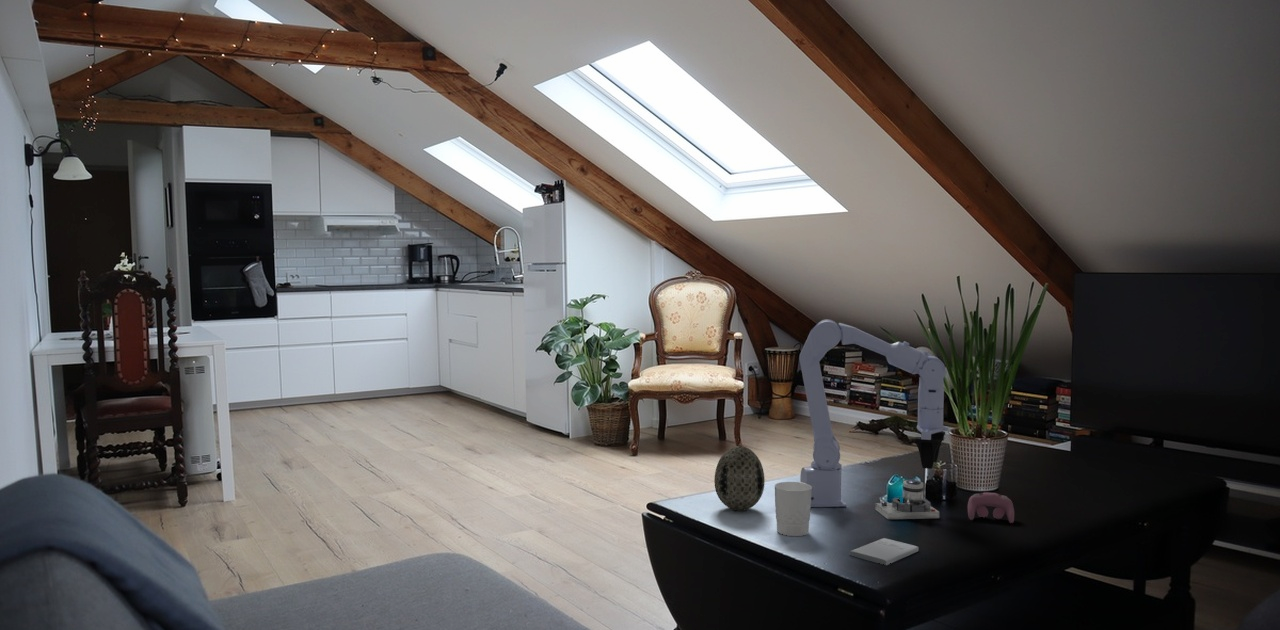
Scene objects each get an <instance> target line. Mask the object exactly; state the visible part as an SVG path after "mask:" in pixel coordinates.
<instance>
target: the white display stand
mask: <svg viewBox="0 0 1280 630" xmlns="http://www.w3.org/2000/svg"><path fill="white" fill-rule="evenodd" d="M899 499H900V498H896V497H894V498H891V502H887V501H881V502H880V503H879V502H878V503H877V502H876V503H875V508H874V509H875V511H877V512H878V513H879V514H880V515H882V517H884V518H886V519H887V520H916V519H917V520H921V519H923V520H924V519H940V511H939V510H937V509H936V508H934V507H933V506H932V504H931V501H929V500H928V499H927V498H924V497H923V504H916V505H911V504H905V503H900V500H899Z"/></svg>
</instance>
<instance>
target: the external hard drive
mask: <svg viewBox="0 0 1280 630" xmlns="http://www.w3.org/2000/svg"><path fill="white" fill-rule="evenodd" d="M917 552H919V546H916V545H913V544H910V543H905V542H902V541H897V540H893V539H890V538H886V537H883V538H880V539H878V540H875V541H873V542H870V543H867V544H864V545H862V546H860V547H857V548H855V549H852V550H850V551H849V556H850V555H851V557H855V558H858V559H861V560H865V561H868V562H872V563H876V564H879V563H880V565H883V564H884V565H883V566H888V565H891V564H892V563H895V562H897V561H900V560H902V559H904V558H906V557H908V556H911V555H913V554H915V553H917ZM890 563H891V564H890Z"/></svg>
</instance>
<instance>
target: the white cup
mask: <svg viewBox="0 0 1280 630" xmlns="http://www.w3.org/2000/svg"><path fill="white" fill-rule="evenodd" d="M811 494H812V486H810V485H808V484H805V483H800V481H799V482H798V481H782V482H778V483H775V484H774V504H775V505H774V506H775V519H776V533H778V532H779V533H778V534H779V535H782V534H783V535H782V536H786V535H787V537H803V535H804V536H806V535H808V534H809V530H810V529H809V528H810V520H811V509H812V507H811Z"/></svg>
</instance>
